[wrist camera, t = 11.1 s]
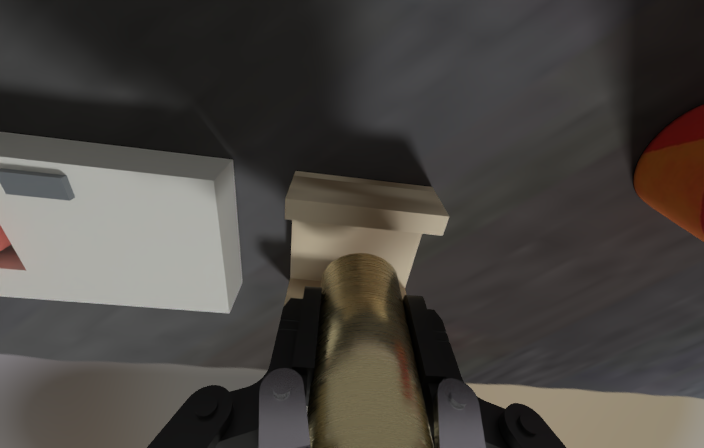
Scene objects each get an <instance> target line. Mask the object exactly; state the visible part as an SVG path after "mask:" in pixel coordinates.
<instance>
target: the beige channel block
mask: <svg viewBox="0 0 704 448" xmlns="http://www.w3.org/2000/svg"><path fill="white" fill-rule="evenodd" d="M285 219H286V220H292V240H291V269H290V281H289V286H288V290H287V295H286V299H285V303H284V306H285V305H286V303H287V302H288V301H289V299H290V298H299V299H303V295H304V289H305V286H310V287H320V286H321V278H322V275H323V272H324V271H325V269H326V268H327V267H328V265H330V264H331V263H332V262H333V261H335V260H336V259H338V258H340V257H343V256H345V255H349V254H355V253H366V254H372V255H376V256H378V257H381V258H383V259H384V260H386V261H387V262H389V263H390V264H391V265H392V266H393V268H394V269H395V271H396V273H397V276H398V281H399V286H400V291H401V295H402V300H403V297H404V295H406V291H405V286H406V283H407V280H408V277H409V274H410V271H411V267H412V264H413V261H414V258H415V255H416V251H417V248H418V245H419V242H420V239H421V236H422V234H431V235H441V236H443V233H444V230H445V228H446V225H447V222H448V219H449V215H448V213H447V212H446V210H445V208H444V206H443V205H442V203H441V201H440V200H439V198H438V196H437V194H436V193H435V191H434V189H433V188H432V187H428V186H420V185H411V184H403V183H394V182H386V181H377V180H369V179H361V178H352V177H344V176H335V175H327V174H318V173H310V172H302V171H295V174H294V176H293V179H292V182H291V184H290V187H289V190H288V193H287V195H286V198H285Z"/></svg>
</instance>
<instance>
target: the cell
mask: <svg viewBox="0 0 704 448" xmlns="http://www.w3.org/2000/svg"><path fill="white" fill-rule="evenodd" d="M320 287H322V294H321V305H320V315H319V326H318V336H317V347H316V357H315V368H314V376H313V381H312V383H311V386H310V392H309V402H308V412H307V419H308V428H309V437H310V446H311V448H434V445H433V440H432V436H431V431H430V426H429V422H428V417H427V412H426V408H425V403H424V398H423V394H422V389H421V384H420V380H419V375H418V370H417V365H416V361H415V356H414V351H413V347H412V342H411V337H410V333H409V328H408V323H407V319H406V314H405V309H404V305H403V300H402V295H401V291H400V286H399V281H398V276H397V273H396V271H395V269H394V268H393V266H392V265H391V264H390V263H389V262H387V261H386V260H384V259H383V258H381V257H378V256H376V255H372V254H366V253H355V254H349V255H345V256H343V257H340V258H338V259H336V260H335V261H333V262H332V263H331V264H330V265H328V267H327V268H326V269H325V271H324V272H323V275H322V278H321V286H320Z"/></svg>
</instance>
